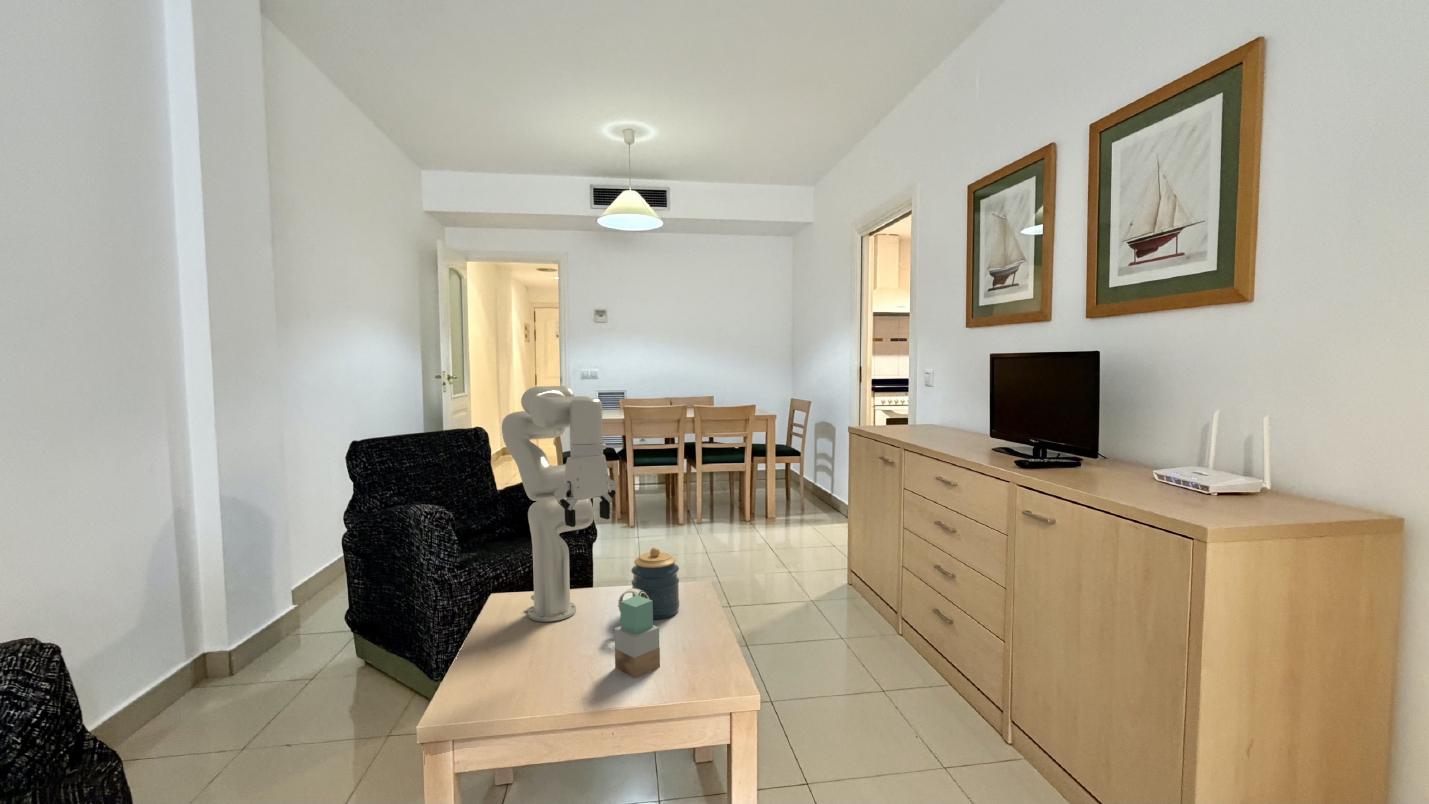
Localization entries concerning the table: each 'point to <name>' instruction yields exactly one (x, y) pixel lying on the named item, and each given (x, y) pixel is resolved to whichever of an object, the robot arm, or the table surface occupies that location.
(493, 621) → the table surface
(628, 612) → the stack block
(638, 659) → the base block
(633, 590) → the watch
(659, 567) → the canister
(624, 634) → the top block
